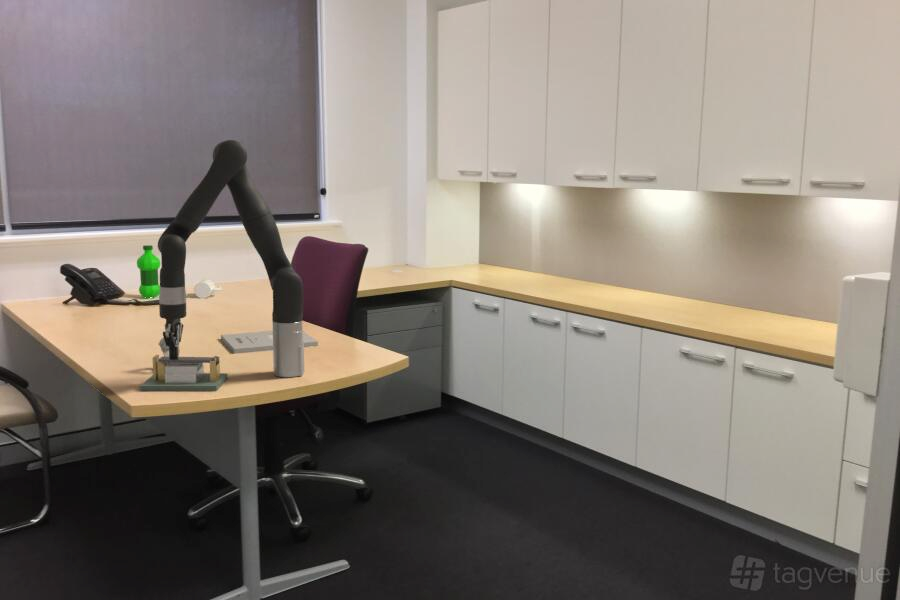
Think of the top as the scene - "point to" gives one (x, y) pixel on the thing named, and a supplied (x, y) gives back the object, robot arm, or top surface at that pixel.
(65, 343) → the top surface
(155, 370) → the clip posts
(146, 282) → the plastic bottle
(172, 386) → the board
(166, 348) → the watch
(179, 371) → the heat sink
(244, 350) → the award plaque
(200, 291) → the mug
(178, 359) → the strap
